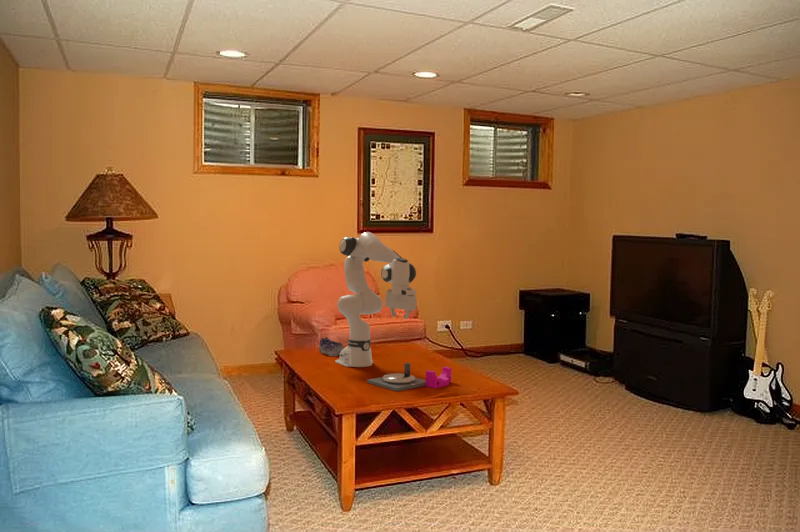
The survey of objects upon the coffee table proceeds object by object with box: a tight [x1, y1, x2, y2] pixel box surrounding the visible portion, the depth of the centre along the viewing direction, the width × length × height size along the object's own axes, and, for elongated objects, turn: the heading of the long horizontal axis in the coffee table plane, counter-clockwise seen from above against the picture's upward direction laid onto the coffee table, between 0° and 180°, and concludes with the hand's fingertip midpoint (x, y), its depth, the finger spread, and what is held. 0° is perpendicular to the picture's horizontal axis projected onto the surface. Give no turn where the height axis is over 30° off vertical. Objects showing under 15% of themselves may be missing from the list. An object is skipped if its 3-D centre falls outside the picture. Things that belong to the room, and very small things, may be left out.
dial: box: [382, 362, 416, 384], centre depth 322 cm, size 16×16×8 cm
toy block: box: [425, 366, 452, 389], centre depth 322 cm, size 15×6×8 cm, turn 137°
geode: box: [318, 336, 345, 357], centre depth 391 cm, size 20×12×10 cm, turn 40°
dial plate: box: [366, 376, 427, 392], centre depth 322 cm, size 22×22×2 cm
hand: (399, 317), depth 332 cm, fingers open, 8 cm apart
